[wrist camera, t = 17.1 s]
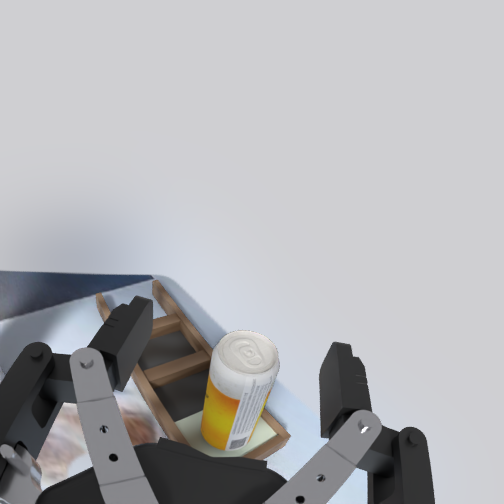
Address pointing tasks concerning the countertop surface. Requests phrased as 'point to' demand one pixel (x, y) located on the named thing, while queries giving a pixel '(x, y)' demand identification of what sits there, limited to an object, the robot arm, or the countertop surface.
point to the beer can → (238, 388)
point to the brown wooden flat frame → (187, 383)
